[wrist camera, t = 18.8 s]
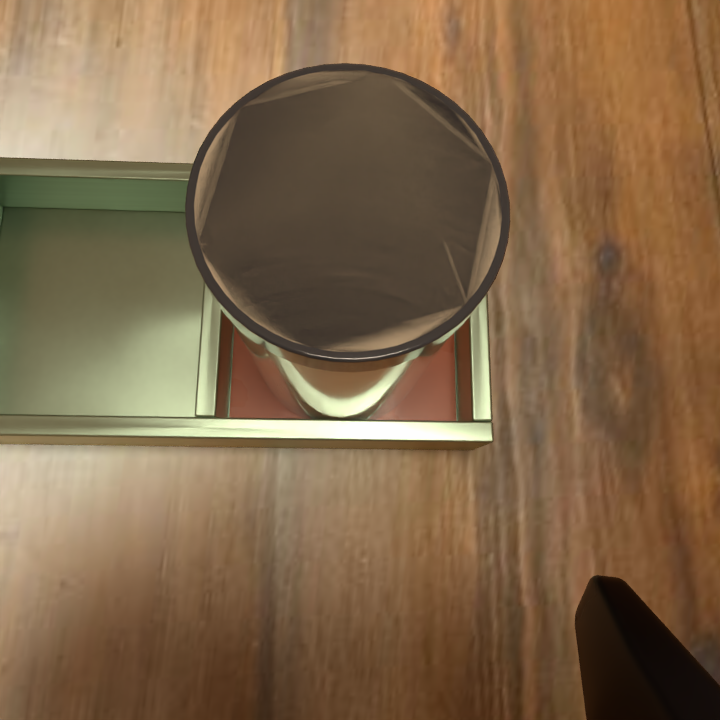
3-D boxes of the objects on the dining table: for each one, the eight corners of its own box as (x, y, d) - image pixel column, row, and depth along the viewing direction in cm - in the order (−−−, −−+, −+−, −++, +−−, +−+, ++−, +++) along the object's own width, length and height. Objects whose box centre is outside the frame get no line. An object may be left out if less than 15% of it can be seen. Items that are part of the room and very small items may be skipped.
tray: (473, 450, 23) (494, 442, 20) (-44, 443, 22) (-100, 434, 19) (465, 210, 25) (483, 172, 22) (-5, 196, 25) (-50, 155, 22)
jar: (251, 432, 22) (179, 366, 12) (252, 261, 24) (188, 61, 13) (433, 427, 23) (526, 357, 12) (422, 258, 24) (496, 61, 13)
